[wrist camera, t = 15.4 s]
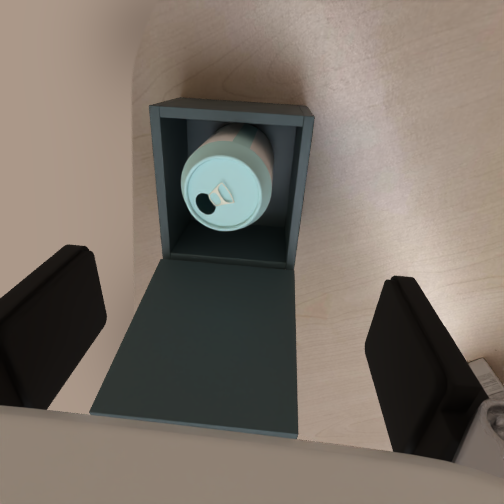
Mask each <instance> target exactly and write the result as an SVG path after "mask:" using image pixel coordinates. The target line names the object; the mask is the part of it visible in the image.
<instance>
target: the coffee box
mask: <svg viewBox="0 0 504 504" xmlns="http://www.w3.org/2000/svg"><path fill="white" fill-rule="evenodd" d="M468 364H469V366H470V368H471V369H472V371H473V372H474V374H475V376H476V377H477V379H478V381H479V382H480V384H481V385H482V387H483V389H484V390H485V392H486V393H487V395H488V397H489V398H490V399H491V398H495V399H503V400H504V386H503V384H502V383H501V382H500V380H499V379H498V377H497V376H496V374H495V373H494V372H493V370H492V369H491V368H490V366H489V365H488V363H487V362H486V361H485V359H484V358H480V359H478V360H475V361H472V362H470V363H468Z"/></svg>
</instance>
